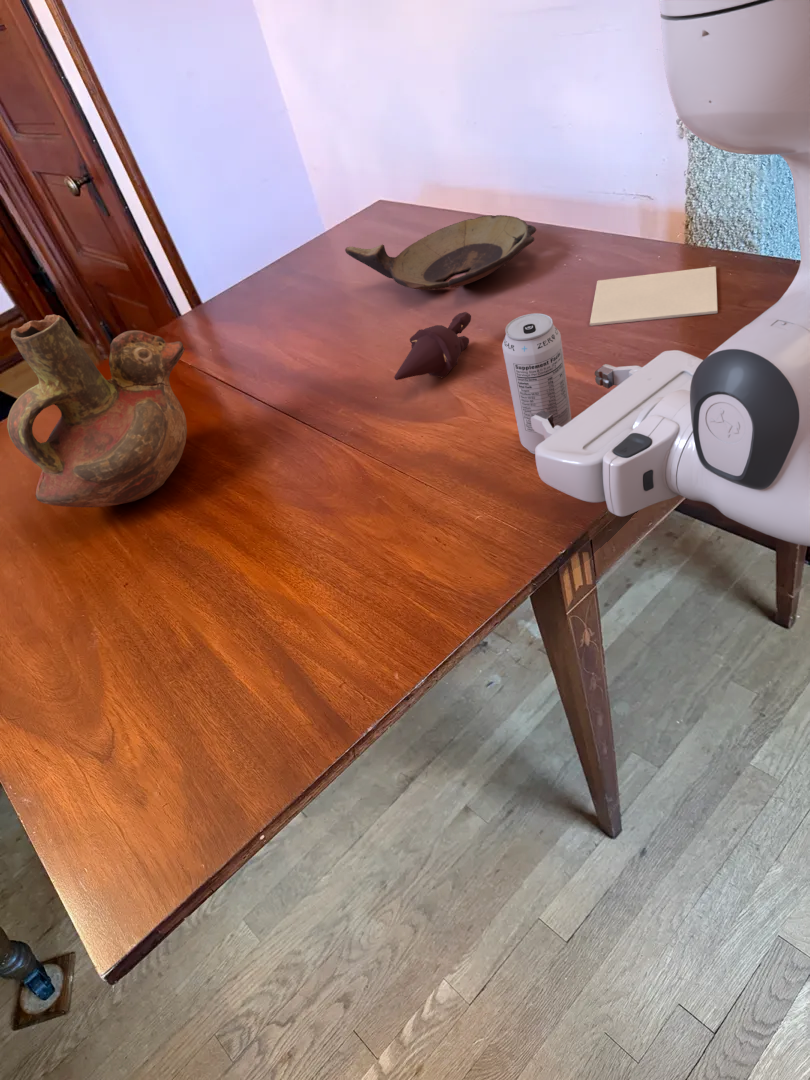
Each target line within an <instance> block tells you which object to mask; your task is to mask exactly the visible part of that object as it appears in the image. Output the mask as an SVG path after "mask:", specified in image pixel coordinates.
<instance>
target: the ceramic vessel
mask: <svg viewBox="0 0 810 1080" xmlns="http://www.w3.org/2000/svg"><path fill="white" fill-rule="evenodd" d="M10 338H11V339H12V341H13V343H14V344H15V346H16V348H17V350H18V351H19V353H20V355H21V356H22V358H23V360H24V361H25V362H26V363H27V365H28V366H29V367H30V369H31V370H32V371H33V372H34V373H35V375H36V376H37V378H38V383H37V384H36V385H34V386H32V387H30V388H28V389H27V390H25V391H24V392H22V394H20V395H19V397H18V398H17V399H16V400H15V401H14V403H13V404H12V405H11V408H10V410H9V412H8V416H7V423H6V430H7V432H8V436H9V438H10V440H11V442H12V443H13V445H14V446H15V447H16V448H17V450H18V451H19V452H20V453H22V455H24V456H25V457H26V458H27V459H29V460H30V461H31V462H32V463H34V464H35V465H36V466H38V467H39V468H40V469H41V472H40V476H39V479H38V482H37V485H36V488H35V498H36V501H38V502H40V503H42V504H46V505H50V506H57V507H66V508H67V507H68V508H104V507H111V506H118V505H122V504H128V503H133V502H136V501H138V500H141V499H143V498H146V497H147V496H149V495H151V494H153V493H154V492H156V491H157V490H158V489H160V488H161V487H162V486H163V485H164V484H165V482H167V480H168V478H169V477H170V476H171V474H172V473H173V471H174V470H175V469H176V467H177V465H178V464H179V463H180V460H181V458H182V456H183V453H184V450H185V446H186V443H187V434H188V425H187V418H186V414H185V411H184V409H183V406H182V404H181V403H180V401H179V399H178V397H177V395H175V393H174V391H173V389H172V387H171V383H170V377H171V376H170V375H171V372H172V371H173V369H174V368H175V367H176V366H177V364H178V363H179V361H180V360H181V358H182V357H183V355H184V352H185V350H186V348H185V347H184V343H183V342H182V341H177V340H176V341H174V342H173V341H172V342H167V341H166V340H165V339H164V338H163V337H161V336H159V335H153V334H152V333H148V332H146V331H143V330H137V329H136V330H134V329H133V330H127V331H124V332H122V333H120V334H118V335H117V336H116V337H115V338H113V339H112V340H111V343H110V347H109V348H110V350H109V356H108V357H109V358H108V366H109V370H110V371H109V372H110V375H111V378H110V379H106V378H105V377H104V375H103V374H102V373H101V372H100V370H99V369H98V367H97V366H96V364H95V363H94V361H93V360H92V359H91V357H90V355H89V354H88V353H87V351H86V350H85V348H84V346H83V345H82V344H81V342H80V340H79V339H78V337H77V336H76V334H75V332H74V331H73V329H72V327H71V326H70V325H69V323H68V321H67V320H66V319H65V318H64V317H63V316H62V315H57V314H47V315H45V317H44V319H41V320H30V321H27V322H25V323H23V325H22V326H20V327H16V328H15V327H13V328H11V332H10ZM53 405H54V406H56V407H57V408H58V409H59V411H60V415H61V416H60V417H59V419H58V420H57V422H56V423H55V426H54V427H53V429H52V431H50V434H49V436H48V438H47V440H46V441H44V442H43V441H42V442H39V441H38V440H37V438H36V437H35V436H34V432H33V427H34V422H35V420H36V418H37V416H39V414H40V413H42V412H43V411H44V409H48V408H49V407H51V406H53Z"/></svg>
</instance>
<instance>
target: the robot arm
mask: <svg viewBox="0 0 810 1080" xmlns="http://www.w3.org/2000/svg"><path fill="white" fill-rule="evenodd" d="M658 1H659V2H658V3H659V13H660V29H661V43H662V45H661V46H662V55H663V56H662V57H663V66H664V72H665V78H666V84H667V88H668V91H669V95H670V99H671V101H672V104H673V107H674V110H675V113H676V115H677V118H678V119H679V120H680V122H681V123H682V124H683V125H684V127H686V128H687V129H688V131H690V132H691V133H692V134H693V135H694V136H696V137H697V138H698V139H699V140H700V141H702V142H704V143H706V144H708V145H709V146H711V147H714V148H716V149H718V150H721V151H724V152H728V153H731V154H736V155H737V154H738V155H752V156H755V155H756V156H776V155H777V156H778V155H779V156H780V157H781V158H782V159H783V160H784V161H785V162H786V164H787V166H788V167H789V170H790V173H791V177H792V181H793V192H794V200H795V201H794V202H795V210H796V211H795V212H796V220H797V232H798V243H799V250H800V262H799V266H798V270H797V272H796V274H795V276H794V278H793V280H792V281H791V283H790V285H789V286H788V288H787V289H786V291H785V292H784V293H783V295H782V296H781V297H780V298H779V300H778V301H776V302H775V303H774V304H773V305H771V306H770V307H769V308H768V309H766V310H765V311H763V313H760V315H759V316H757V317H756V318H755V319H753V320H752V321H751V322H750V323H748V324H747V325H745V326H743V327H742V328H741V329H739V330H738V331H737V332H736V333H734V334H733V335H731V336H730V337H729V338H728V339H727V340H725V341H724V342H723V343H721V344H720V345H719V346H718V347H716V348H715V349H714V350H713V351H712V352H710V353H709V354H708V355H707V356H706V357H705V358H704V359H702V358H700V357H698V356H695V355H693V354H690V353H688V352H685V351H683V350H679V349H672V350H664V351H662V352H660V353H659V354H658V355H656V357H654V358H653V359H652V360H650V361H649V362H648V363H646V364H645V365H643V366H640V365H625V366H614V365H611V364H608V363H605V364H603V365H601V366H600V367H599V368H598V369H596V370H595V371H594V376H595V378H594V381H595V383H596V384H597V385H598V386H602V387H603V388H606V389H610V388H612V387H613V386H615V387H614V388H612V389H611V390H610V391H608V392H607V393H606V394H605V395H603V396H602V397H600V398H599V399H598V400H596V401H595V402H594V403H592V404H591V405H590V406H588V407H587V408H586V409H584V410H583V411H581V412H580V413H579V414H577V415H576V416H575V417H573V418H572V420H571V421H570V422H568V423H567V424H565V425H564V426H563V427H561V426H559V425H556V426H555V427H554V423H553V414H550V413H548V412H545V411H544V410H541V411H540V412H538V413H537V414H535V415H534V416H533V417H531V425H532V429H533V430H534V431H535V432H537V433H540V434H542V435H544V438H545V440H544V441H543V442H541V443H540V444H538V445H537V446H536V448H535V454H534V458H535V465H536V470H537V474H538V476H539V478H540V480H541V481H542V482H543V483H545V485H547V486H550V487H551V488H553V489H554V490H557V491H559V492H561V493H564V494H566V495H568V496H570V497H572V498H574V499H577V500H579V501H583V502H587V503H594V504H596V503H603V502H605V503H606V508H607V510H608V512H610V513H611V514H613V515H615V516H617V517H626V516H629V515H632V514H635V513H636V512H638V511H641V510H643V509H645V508H648V507H650V506H653V505H656V504H658V503H661V502H663V501H667V500H672V499H673V498H676V497H678V496H681V497H682V498H685V499H687V500H690V501H695V502H703V503H706V504H708V505H711V506H712V507H714V508H715V509H716V510H718V511H719V512H720V513H721V514H722V515H723V516H725V517H726V518H728V519H730V520H732V521H734V522H737V523H739V524H741V525H743V526H744V527H745V526H746V527H747V528H749V529H752V530H755V531H756V532H759V533H762V534H764V535H766V536H770V537H772V538H776V539H777V540H778V539H779V540H781V541H784V542H787V543H790V544H795V545H800V546H805V547H810V0H658Z"/></svg>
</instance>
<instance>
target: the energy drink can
mask: <svg viewBox="0 0 810 1080" xmlns="http://www.w3.org/2000/svg"><path fill="white" fill-rule="evenodd" d="M504 330H505V336H504V338H503V342H502V344H501V347H502V348H501V349H502V353H503V358H504V359H503V360H504V363H505V368H506V374H507V377H508V385H509V389H510V394H511V399H512V405H513V410H514V414H515V420H516V425H517V432H518V436H519V441H520V444H521V445H522V447H524V448H525V449H526V450H527V451H528V452H529V453H531V454H533V455H535V448H536V446H537V445H538V444H540V443H541V442H543V441H544V440H545V438H544V435H542V434H540V433H537V432H535V431H534V430H533V429H532V425H531V417H533V416H534V415H535V414H537V413H538V412H540V411H541V410H544V411H545V412H548V413H550V414H553V423H554V427H555V426H556V425H559V426H561V427H563V426H564V425H565V424H567V423H568V422H570V421H571V420H572V419H573V418H572V411H571V404H570V403H571V402H570V397H569V388H568V382H567V381H568V380H567V374H566V373H567V372H566V365H565V358H564V349H563V343H562V336H561V335H562V334H561V331H559V329H558V328H557V327H556V326H555V325H554V320H553V319H552V317H551V316H549V315H547V314H544V313H537V312H535V313H528V314H523V315H521V316H518V317H516V318H513V320H510V322H509V323H508V324H506V326H505V329H504Z"/></svg>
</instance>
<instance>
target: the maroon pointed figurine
mask: <svg viewBox="0 0 810 1080" xmlns="http://www.w3.org/2000/svg"><path fill="white" fill-rule="evenodd" d="M471 321H472V314H470V313H469V312H467V311H463V312H460V313H458V314H456V315H455V316H454V317H453V318H452V320H451V322H450V323H449V325H448V327H446V326H444V325H442V324H441V325H440V324H437V325H433V326H429V327H425V328H424V329H418V330H417V331H416V332H415V333H414V334H413V335H412V336H410V338H409V342H410V344H411V347H410V348H411V349H410V351H409V352H408V354H407V356H406V357H405V359H404V361H403V362H402V363H401V365H400V366H399V368H398V370H397V371H396V373H395V375H394V376H393V378H394V380H396V381H400V380H403V379H408V378H412V377H417V376H422V375H423V376H424V375H429V376H433V377H438V378H446V376H448V374H449V373H450V371H452V369H453V368H454V367H455V366H457V365H458V363H459V357H460V355H461V352H463V351H464V350H465V349H467V347H468V346H469V344H470V338H468V337H467V336H465V335H461V336H458V334H462V333H463V331H464V330H465V329H467V327H468V326H469V324H470V323H471Z"/></svg>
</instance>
